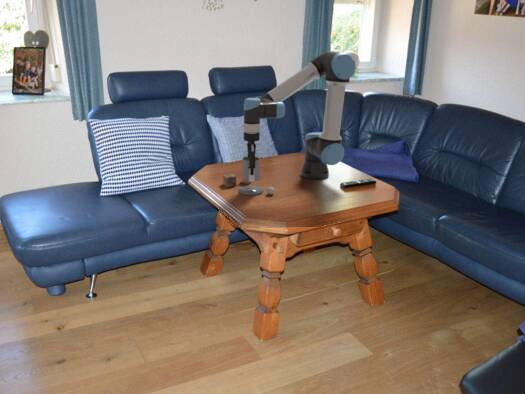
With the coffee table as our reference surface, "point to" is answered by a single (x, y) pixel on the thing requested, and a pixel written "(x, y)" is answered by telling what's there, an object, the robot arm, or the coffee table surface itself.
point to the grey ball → (270, 190)
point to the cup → (246, 170)
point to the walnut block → (229, 180)
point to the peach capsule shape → (246, 182)
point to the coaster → (251, 190)
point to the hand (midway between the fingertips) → (250, 178)
